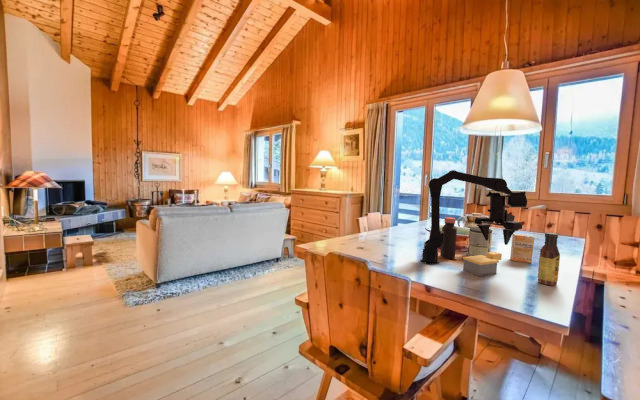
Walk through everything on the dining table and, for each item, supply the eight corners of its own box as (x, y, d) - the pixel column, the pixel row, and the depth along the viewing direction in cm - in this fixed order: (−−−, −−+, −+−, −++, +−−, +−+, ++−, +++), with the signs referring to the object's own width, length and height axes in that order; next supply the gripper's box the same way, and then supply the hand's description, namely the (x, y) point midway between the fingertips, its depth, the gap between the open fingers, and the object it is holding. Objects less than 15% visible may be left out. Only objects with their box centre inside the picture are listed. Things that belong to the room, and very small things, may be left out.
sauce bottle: (558, 287, 112) (563, 236, 110) (537, 284, 115) (542, 233, 113) (555, 282, 118) (561, 233, 116) (536, 279, 121) (541, 231, 119)
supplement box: (512, 261, 145) (514, 234, 144) (510, 258, 150) (512, 233, 149) (532, 263, 142) (534, 236, 141) (529, 260, 147) (531, 234, 145)
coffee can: (464, 252, 159) (466, 226, 158) (484, 253, 158) (486, 227, 157) (472, 258, 149) (474, 230, 147) (494, 259, 148) (496, 231, 146)
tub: (478, 276, 122) (479, 264, 122) (463, 270, 130) (463, 259, 129) (496, 274, 126) (497, 262, 125) (479, 268, 133) (480, 257, 133)
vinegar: (437, 255, 152) (439, 217, 150) (448, 255, 154) (451, 216, 152) (446, 259, 145) (448, 219, 143) (457, 258, 147) (460, 219, 145)
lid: (479, 265, 121) (480, 258, 121) (463, 259, 129) (463, 252, 129) (506, 261, 127) (507, 255, 127) (489, 256, 135) (489, 250, 135)
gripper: (531, 208, 123) (530, 245, 124) (491, 204, 140) (490, 236, 142) (513, 209, 119) (511, 247, 120) (473, 205, 136) (473, 239, 138)
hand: (496, 242), depth 130 cm, fingers open, 9 cm apart
